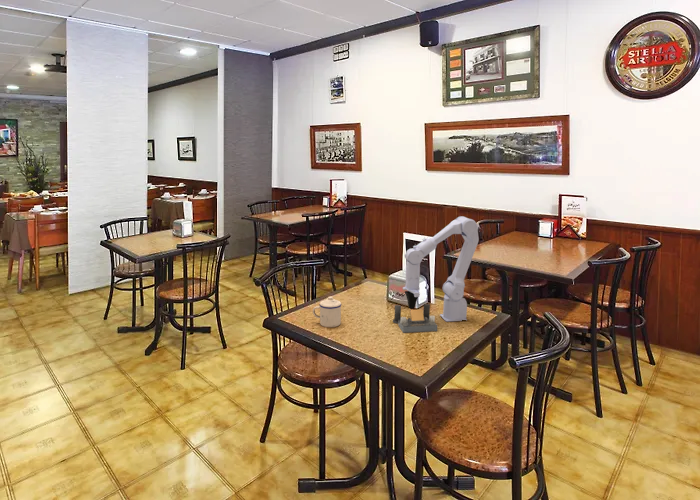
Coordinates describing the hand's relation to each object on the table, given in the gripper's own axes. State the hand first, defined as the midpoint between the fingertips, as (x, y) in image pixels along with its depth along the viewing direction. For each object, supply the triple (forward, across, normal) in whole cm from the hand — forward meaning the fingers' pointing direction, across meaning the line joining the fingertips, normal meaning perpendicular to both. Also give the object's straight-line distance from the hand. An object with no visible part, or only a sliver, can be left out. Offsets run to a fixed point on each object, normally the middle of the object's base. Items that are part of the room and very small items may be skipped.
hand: (411, 308), depth 189 cm
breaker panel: (+5, +9, 0) cm, 11 cm away
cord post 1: (+5, +1, -6) cm, 8 cm away
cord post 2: (+5, +1, +6) cm, 8 cm away
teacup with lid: (+6, -1, -36) cm, 36 cm away
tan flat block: (+2, +9, 0) cm, 9 cm away
